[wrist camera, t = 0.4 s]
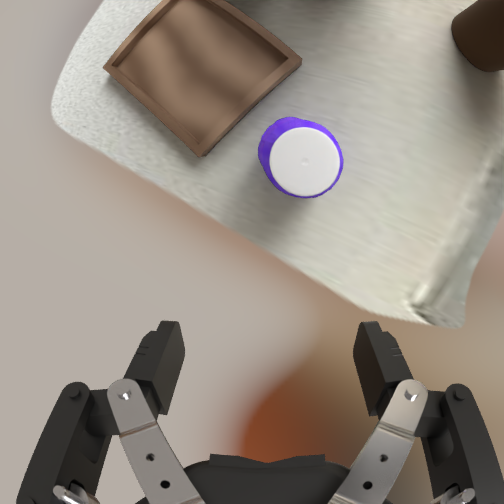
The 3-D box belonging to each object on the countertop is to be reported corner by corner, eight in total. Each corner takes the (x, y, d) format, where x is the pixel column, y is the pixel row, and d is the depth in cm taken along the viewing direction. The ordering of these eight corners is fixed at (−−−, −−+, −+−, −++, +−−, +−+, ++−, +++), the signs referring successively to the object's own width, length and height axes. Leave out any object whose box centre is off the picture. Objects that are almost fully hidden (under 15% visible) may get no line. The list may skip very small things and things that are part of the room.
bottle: (258, 154, 32) (225, 165, 16) (287, 116, 30) (283, 87, 14) (308, 191, 33) (324, 239, 17) (337, 154, 31) (384, 167, 15)
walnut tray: (193, -14, 24) (187, -22, 22) (301, 64, 27) (302, 58, 25) (112, 70, 29) (102, 67, 27) (205, 156, 33) (198, 157, 31)
